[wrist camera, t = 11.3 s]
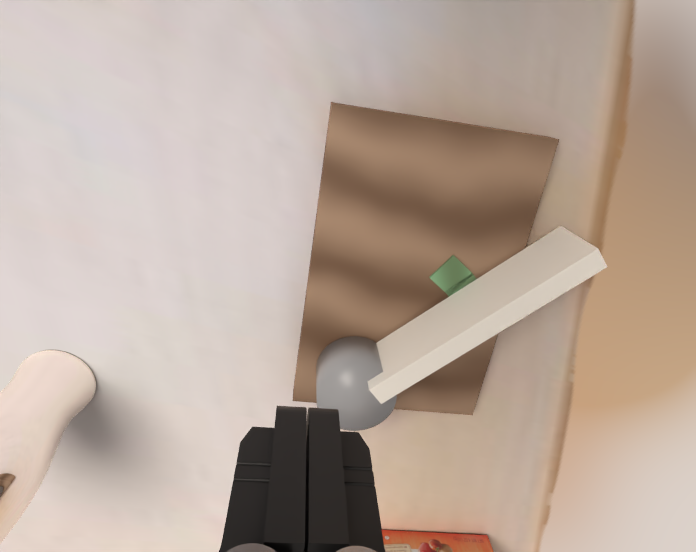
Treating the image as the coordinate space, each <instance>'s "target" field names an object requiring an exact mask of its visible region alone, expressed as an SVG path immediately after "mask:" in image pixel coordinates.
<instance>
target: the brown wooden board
mask: <svg viewBox="0 0 696 552" xmlns="http://www.w3.org/2000/svg"><path fill="white" fill-rule="evenodd" d="M558 142H559V139H555V138H551V137H546V136H540V135H534V134H527V133H521V132H515V131H508V130H502V129H496V128H490V127H483V126H477V125H471V124H464V123H458V122H452V121H446V120H439V119H433V118H427V117H421V116H414V115H408V114H402V113H395V112H389V111H383V110H377V109H370V108H364V107H358V106H352V105H345V104H339V103H333V102H331V108H330V115H329V123H328V130H327V138H326V146H325V153H324V161H323V168H322V176H321V184H320V191H319V199H318V207H317V214H316V222H315V229H314V237H313V245H312V252H311V260H310V267H309V275H308V283H307V290H306V298H305V306H304V313H303V321H302V328H301V336H300V344H299V351H298V359H297V367H296V374H295V382H294V389H293V401H302V402H314V403H317V398H316V364H317V360H318V358H319V356H320V354H321V352H322V351H323V350H324V349H325V348H326V347H327V346H328V345H329V344H331V343H332V342H334V341H336V340H338V339H341V338H344V337H351V336H357V337H364V338H367V339H370V340H372V341H374V342H376V343H377V342H378V341H380V340H382V339H383V338H385V337H386V336H388V335H390V334H391V333H393V332H394V331H396V330H397V329H399V328H401V327H402V326H404V325H405V324H407V323H408V322H410V321H412V320H413V319H415V318H416V317H418V316H419V315H421V314H423V313H424V312H426V311H427V310H429V309H430V308H432V307H434V306H435V305H437V304H438V303H440V302H441V301H443V300H445V299H446V298H448V297H449V296H451V295H452V294H454V293H456V292H457V291H459V290H460V289H462V288H464V287H465V286H467V285H468V284H470V283H471V282H473V281H475V280H476V279H478V278H479V277H481V276H482V275H484V274H486V273H487V272H489V271H490V270H492V269H493V268H495V267H497V266H498V265H500V264H501V263H503V262H504V261H506V260H508V259H509V258H511V257H512V256H514V255H515V254H517V253H519V252H520V251H522V250H523V249H525V247H526V244H527V240H528V237H529V234H530V231H531V228H532V225H533V221H534V218H535V215H536V212H537V209H538V206H539V202H540V199H541V196H542V193H543V190H544V187H545V183H546V180H547V177H548V174H549V171H550V167H551V164H552V161H553V158H554V155H555V152H556V148H557V145H558ZM497 336H498V334H496V335H494V336H493V337H491V338H489V339H488V340H486V341H485V342H483V343H481V344H480V345H478V346H476V347H475V348H473V349H471V350H470V351H468V352H466V353H465V354H463V355H461V356H460V357H458V358H456V359H455V360H453V361H452V362H450V363H448V364H447V365H445V366H443V367H442V368H440V369H438V370H437V371H435V372H433V373H432V374H430V375H428V376H427V377H425V378H424V379H422V380H420V381H419V382H417V383H415V384H414V385H412V386H410V387H409V388H407V389H405V390H404V391H402V392H400V393H399V394H397V399H396V404H395V407H394V409H402V410H415V411H428V412H440V413H453V414H465V415H473V412H474V409H475V405H476V402H477V399H478V396H479V393H480V390H481V386H482V383H483V380H484V377H485V374H486V371H487V367H488V364H489V361H490V358H491V355H492V352H493V348H494V345H495V342H496V339H497Z"/></svg>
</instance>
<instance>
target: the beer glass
mask: <svg viewBox="0 0 696 552" xmlns="http://www.w3.org/2000/svg"><path fill="white" fill-rule="evenodd" d="M95 391H96V380H95V377H94V374H93V372H92V371H91V369H90V368H89V367H88V366H87V365H86V364H85V363H84V362H83V361H82V360H80V359H79V358H77V357H76V356H74V355H71V354H69V353H66V352H63V351H57V350H44V351H40V352H36V353H34V354H32V355H30V356H29V357H27V358H26V359H25V360H24V361H23V362H22V363H21V364H20V366H19V367H18V369H17V371H16V372H15V374H14V376H13V377H12V379H11V381H10V382H9V383H8V385H7V386H6V387H5V388H4V389H3V390H2V391H1V392H0V544H1V543H2V541H3V540H4V539H5V538H6V536H7V535H8V534H9V532H10V531H11V530H12V528H13V527H14V526H15V524H16V523H17V522H18V520H19V519H20V517H21V516H22V514H23V513H24V512H25V510H26V509H27V507H28V506H29V504H30V503H31V501H32V499H33V498H34V496H35V494H36V493H37V491H38V489H39V488H40V486H41V484H42V482H43V480H44V478H45V476H46V474H47V471H48V469H49V467H50V465H51V462H52V460H53V457H54V455H55V453H56V450H57V448H58V445H59V443H60V440H61V438H62V435H63V433H64V431H65V429H66V427H67V426H68V424H69V423H70V421H71V420H72V419H73V418H74V417H75V416H76V415H77V414H78V413H79V412H80V411H81V410H82V409H83V408H84V407H85V406H86V405H87V404H88V403H89V402H90V401H91V400H92V398H93V396H94V394H95Z"/></svg>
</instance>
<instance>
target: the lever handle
mask: <svg viewBox="0 0 696 552" xmlns="http://www.w3.org/2000/svg"><path fill="white" fill-rule="evenodd" d="M606 267H607V265H606V263H605V261H604V259H603V257H602V255H601V253H600V251H599V249H598V248H596V247H595V246H593V245H592V244H590V243H588V242H587V241H585V240H583V239H582V238H580V237H579V236H577V235H575V234H574V233H572V232H570V231H569V230H567V229H565V228H564V227H562V226H560V227H558V228H556V229H555V230H553V231H552V232H550V233H549V234H547V235H545V236H544V237H542V238H541V239H539V240H538V241H536V242H534V243H533V244H531V245H530V246H528V247H527V248H525V249H523V250H522V251H520V252H519V253H517V254H515V255H514V256H512V257H511V258H509V259H508V260H506V261H504V262H503V263H501V264H500V265H498V266H497V267H495V268H493V269H492V270H490V271H489V272H487V273H486V274H484V275H482V276H481V277H479V278H478V279H476V280H475V281H473V282H471V283H470V284H468V285H467V286H465V287H464V288H462V289H460V290H459V291H457V292H456V293H454V294H452V295H451V296H449V297H448V298H446V299H445V300H443V301H441V302H440V303H438V304H437V305H435V306H434V307H432V308H430V309H429V310H427V311H426V312H424V313H423V314H421V315H419V316H418V317H416V318H415V319H413V320H412V321H410V322H408V323H407V324H405V325H404V326H402V327H401V328H399V329H397V330H396V331H394V332H393V333H391V334H390V335H388V336H386V337H385V338H383V339H382V340H380V341H378V342H377V343H376V342H374V341H372V340H370V339H367V338H364V337H357V336H351V337H344V338H341V339H338V340H336V341H334V342H332V343H331V344H329V345H328V346H327V347H326V348H325V349H324V350H323V351H322V352H321V354H320V356H319V358H318V360H317V364H316V398H317V407H318V408H324V409H338V411H339V421H340V429H344V430H352V431H356V430H364V429H368V428H371V427H374V426H376V425H378V424H380V423H381V422H382V421H384V420H385V419H386V418H387V417H388V416H389V415H390V414H391V412H392V411H393V409H394V407H395V404H396V399H397V394H399V393H400V392H402V391H404V390H405V389H407V388H409V387H410V386H412V385H414V384H415V383H417V382H419V381H420V380H422V379H424V378H425V377H427V376H428V375H430V374H432V373H433V372H435V371H437V370H438V369H440V368H442V367H443V366H445V365H447V364H448V363H450V362H452V361H453V360H455V359H456V358H458V357H460V356H461V355H463V354H465V353H466V352H468V351H470V350H471V349H473V348H475V347H476V346H478V345H480V344H481V343H483V342H485V341H486V340H488V339H489V338H491V337H493V336H494V335H496V334H498V333H499V332H501V331H503V330H504V329H506V328H508V327H509V326H511V325H513V324H514V323H516V322H517V321H519V320H521V319H522V318H524V317H526V316H527V315H529V314H531V313H532V312H534V311H536V310H537V309H539V308H541V307H542V306H544V305H546V304H547V303H549V302H550V301H552V300H554V299H555V298H557V297H559V296H560V295H562V294H564V293H565V292H567V291H569V290H570V289H572V288H574V287H575V286H577V285H578V284H580V283H582V282H583V281H585V280H587V279H588V278H590V277H592V276H593V275H595V274H597V273H598V272H600V271H602V270H603V269H605V268H606Z"/></svg>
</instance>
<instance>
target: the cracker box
mask: <svg viewBox="0 0 696 552" xmlns="http://www.w3.org/2000/svg"><path fill="white" fill-rule="evenodd" d="M382 535H383V542H384V548H385V552H493V549H492V546H491V544H490V541H489V538H488V536H487V535H474V534H454V533H435V532H416V531H396V530H382Z"/></svg>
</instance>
